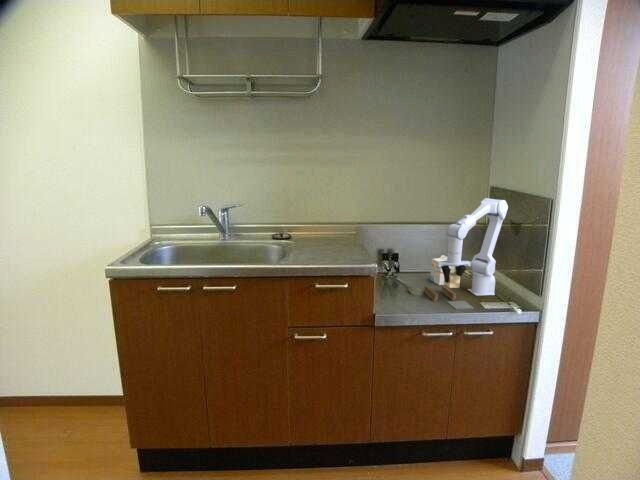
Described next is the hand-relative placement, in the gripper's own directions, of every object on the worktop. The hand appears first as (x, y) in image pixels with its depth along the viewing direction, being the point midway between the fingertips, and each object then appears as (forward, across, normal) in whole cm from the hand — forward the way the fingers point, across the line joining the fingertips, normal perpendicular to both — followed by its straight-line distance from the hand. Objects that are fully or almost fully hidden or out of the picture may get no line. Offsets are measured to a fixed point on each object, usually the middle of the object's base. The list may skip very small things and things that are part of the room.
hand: (451, 282), depth 173 cm
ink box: (+9, -7, -25) cm, 27 cm away
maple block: (+2, 0, 0) cm, 2 cm away
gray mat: (+8, -1, +6) cm, 11 cm away
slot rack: (+8, +3, -5) cm, 10 cm away
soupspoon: (+9, +13, -18) cm, 24 cm away
